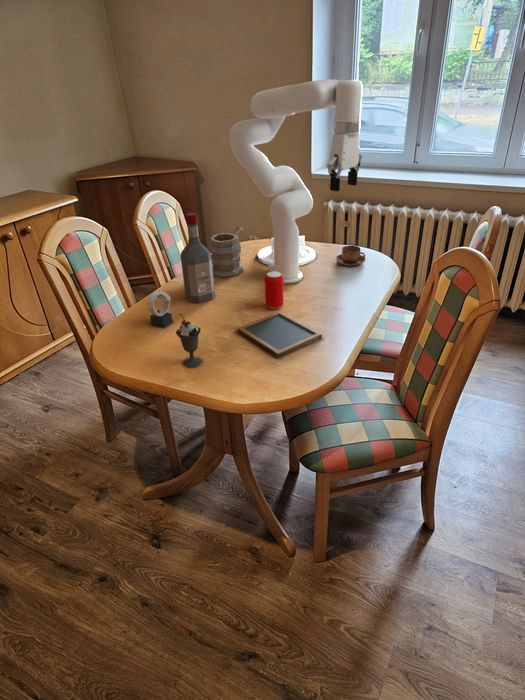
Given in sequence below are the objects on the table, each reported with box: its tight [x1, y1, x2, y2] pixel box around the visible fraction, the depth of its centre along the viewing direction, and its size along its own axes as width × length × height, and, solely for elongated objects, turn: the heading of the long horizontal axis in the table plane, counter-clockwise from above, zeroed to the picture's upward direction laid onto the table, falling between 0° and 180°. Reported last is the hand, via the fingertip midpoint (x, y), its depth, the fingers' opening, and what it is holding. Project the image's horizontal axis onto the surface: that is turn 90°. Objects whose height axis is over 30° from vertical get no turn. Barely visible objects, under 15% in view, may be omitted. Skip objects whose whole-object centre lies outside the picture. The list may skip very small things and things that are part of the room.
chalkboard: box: [237, 310, 323, 359], centre depth 140 cm, size 20×17×2 cm
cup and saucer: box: [335, 245, 366, 267], centre depth 188 cm, size 12×12×6 cm
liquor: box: [180, 212, 216, 304], centre depth 158 cm, size 9×9×30 cm
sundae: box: [175, 313, 202, 368], centre depth 125 cm, size 7×7×15 cm
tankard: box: [208, 226, 244, 278], centre depth 185 cm, size 20×13×15 cm, turn 148°
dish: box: [257, 235, 317, 267], centre depth 196 cm, size 25×25×11 cm
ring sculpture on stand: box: [147, 290, 174, 328], centre depth 147 cm, size 6×8×11 cm
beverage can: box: [264, 271, 285, 310], centre depth 154 cm, size 6×6×12 cm
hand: (343, 187), depth 145 cm, fingers open, 9 cm apart
